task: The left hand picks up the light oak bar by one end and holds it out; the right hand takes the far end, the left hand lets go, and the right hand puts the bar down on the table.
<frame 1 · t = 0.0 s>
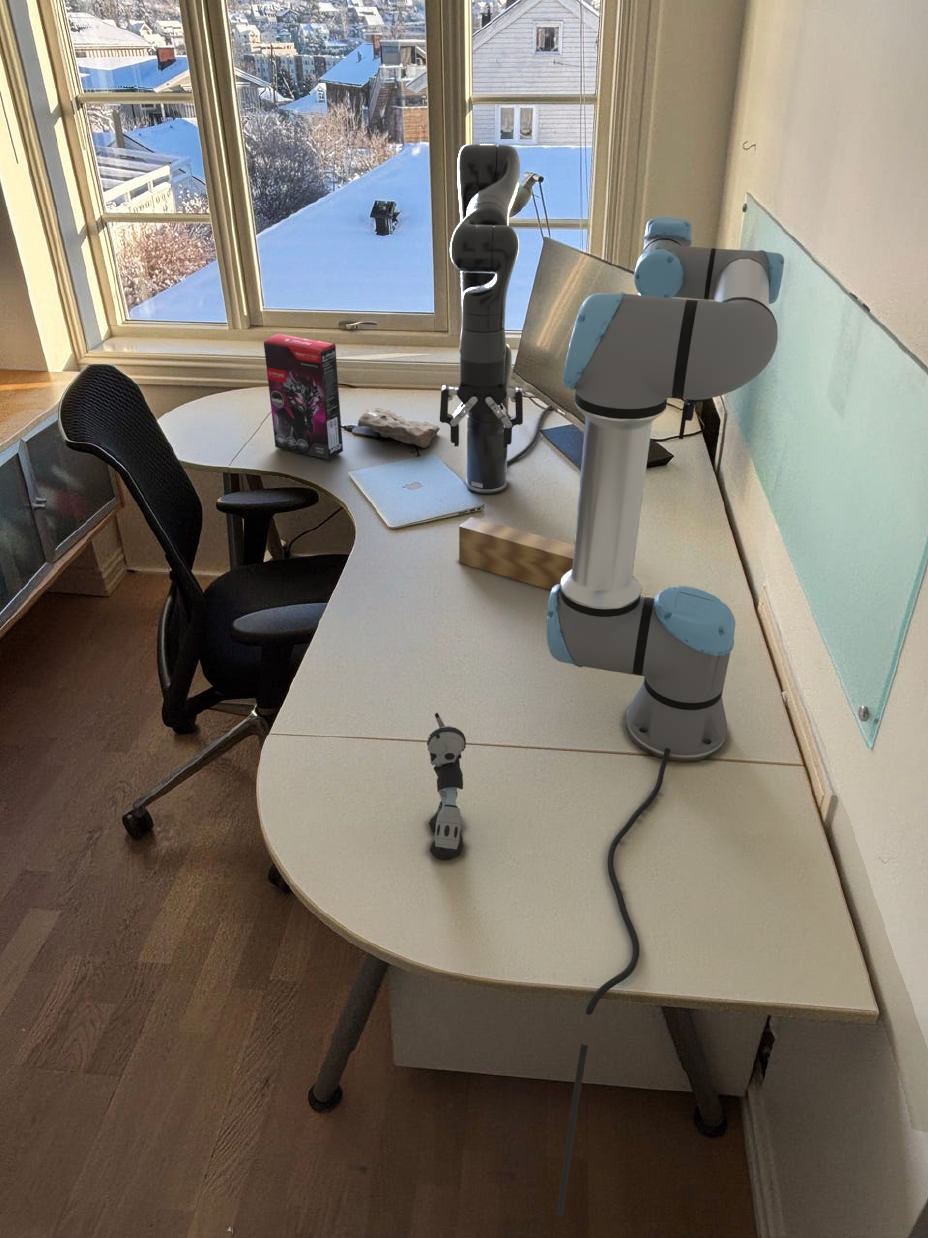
left hand: (480, 445, 161), 29 cm above the table, tool pointing down, fingers open, 8 cm apart
right hand: (643, 432, 170), 28 cm above the table, tool pointing down, fingers open, 13 cm apart
graphics card box: (309, 450, 231), on the table
stone: (395, 437, 238), on the table
bar: (519, 573, 182), on the table
robot: (446, 837, 124), on the table
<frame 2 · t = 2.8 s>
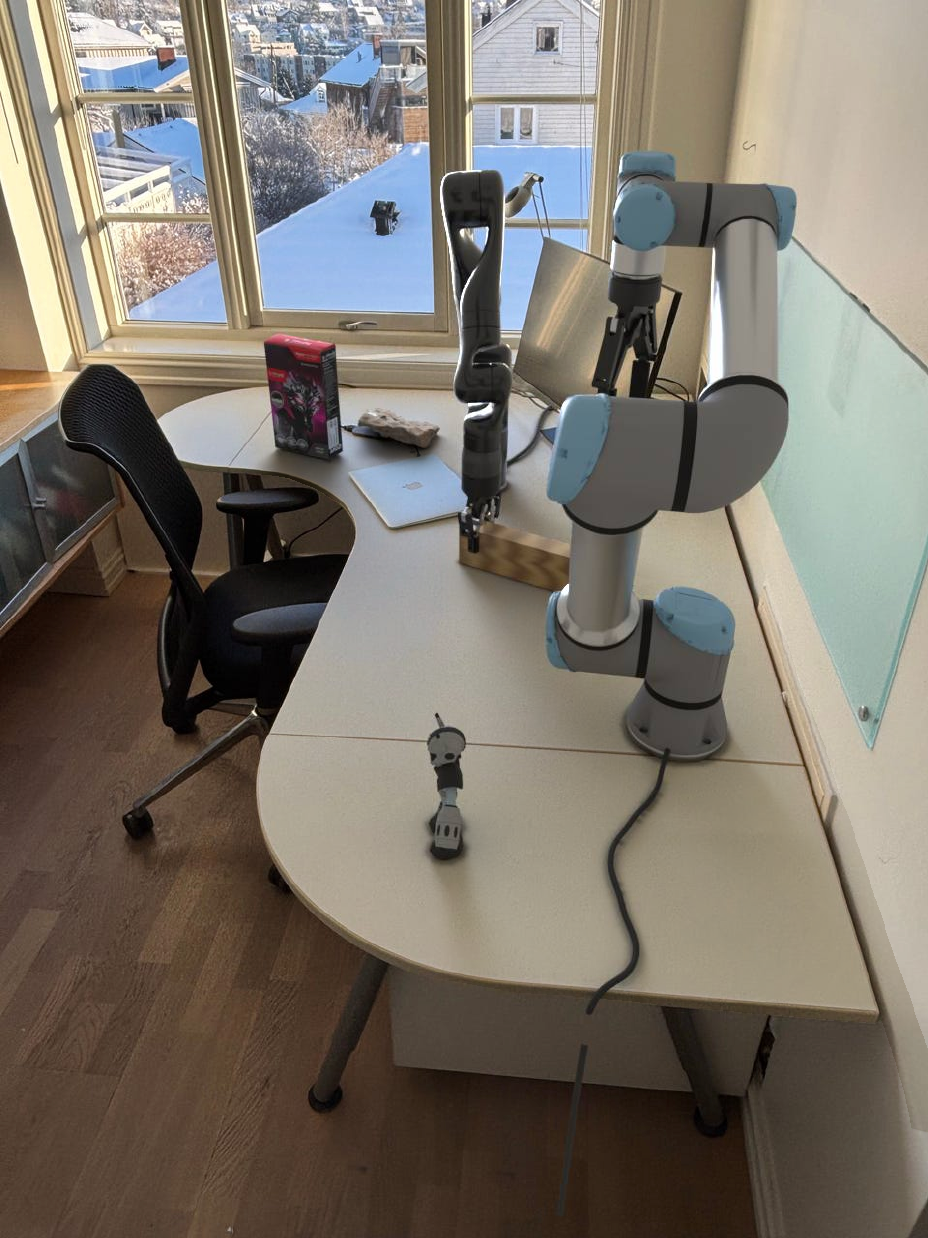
left hand: (479, 546, 184), 4 cm above the table, tool pointing down, fingers closed on bar, 4 cm apart
right hand: (620, 415, 143), 41 cm above the table, tool pointing down, fingers open, 13 cm apart
bar: (519, 573, 182), on the table, touching left hand
everything else where it was.
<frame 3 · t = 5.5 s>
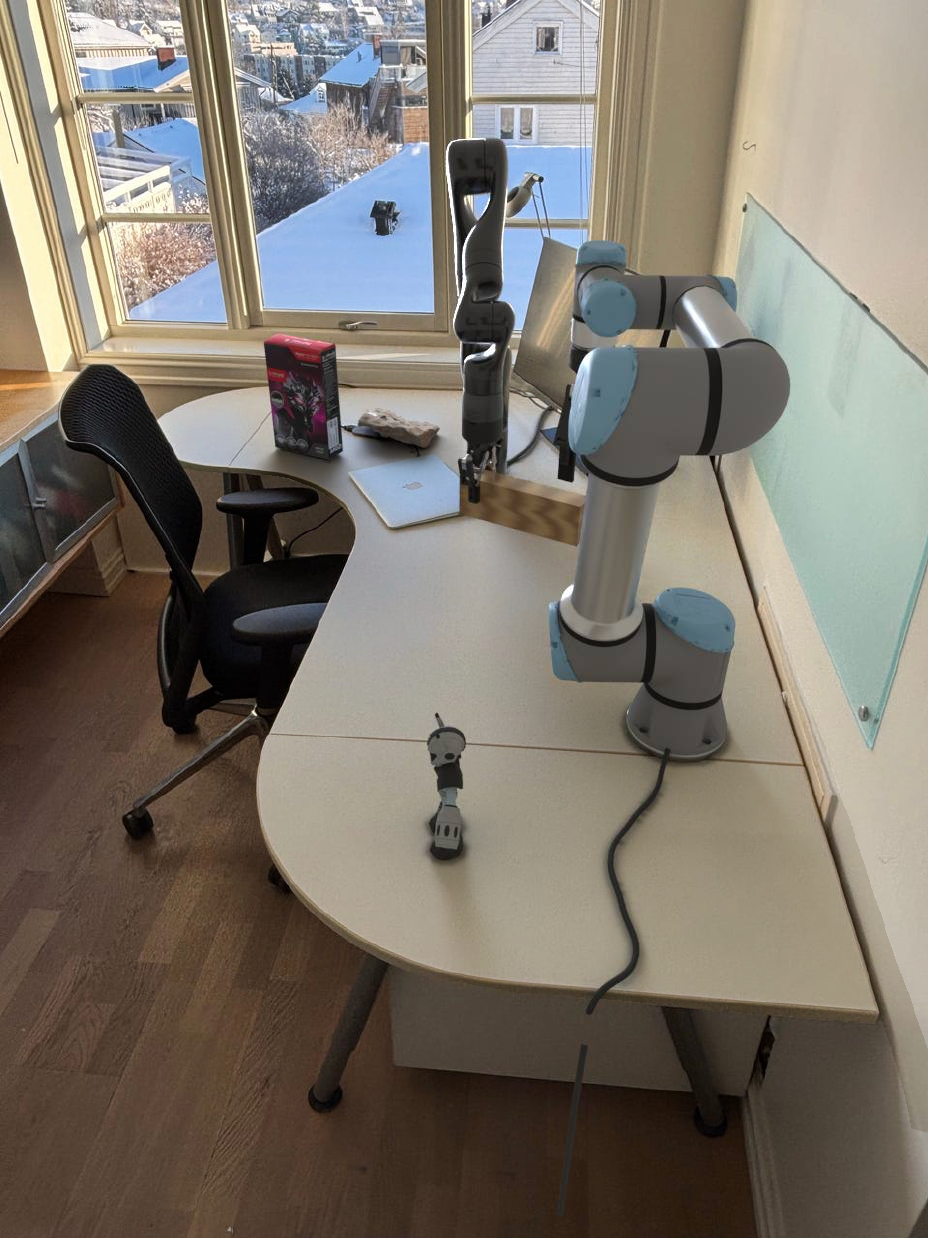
left hand: (480, 496, 178), 14 cm above the table, tool pointing down, fingers closed on bar, 4 cm apart
right hand: (582, 465, 160), 27 cm above the table, tool pointing down, fingers open, 13 cm apart
bar: (521, 524, 176), point 11 cm above the table, touching left hand
everything else where it was.
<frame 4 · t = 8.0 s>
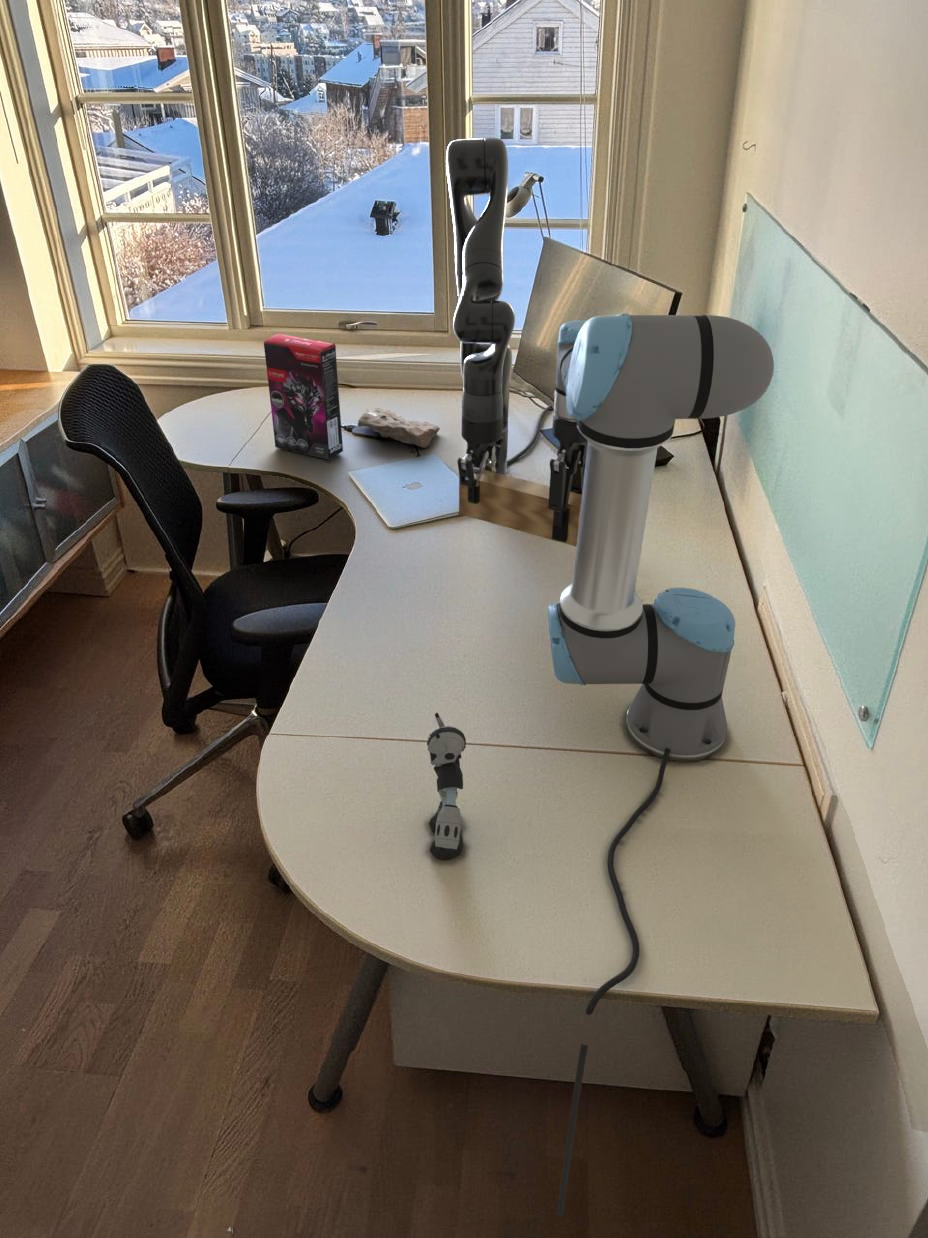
left hand: (480, 496, 178), 14 cm above the table, tool pointing down, fingers closed on bar, 4 cm apart
right hand: (565, 533, 172), 12 cm above the table, tool pointing down, fingers closed on bar, 5 cm apart
bar: (521, 524, 176), point 11 cm above the table, touching right hand, left hand
everything else where it was.
when the left hand's fingers open (14 cm above the table, at t = 8.7 s): bar stays where it is, held by the right hand.
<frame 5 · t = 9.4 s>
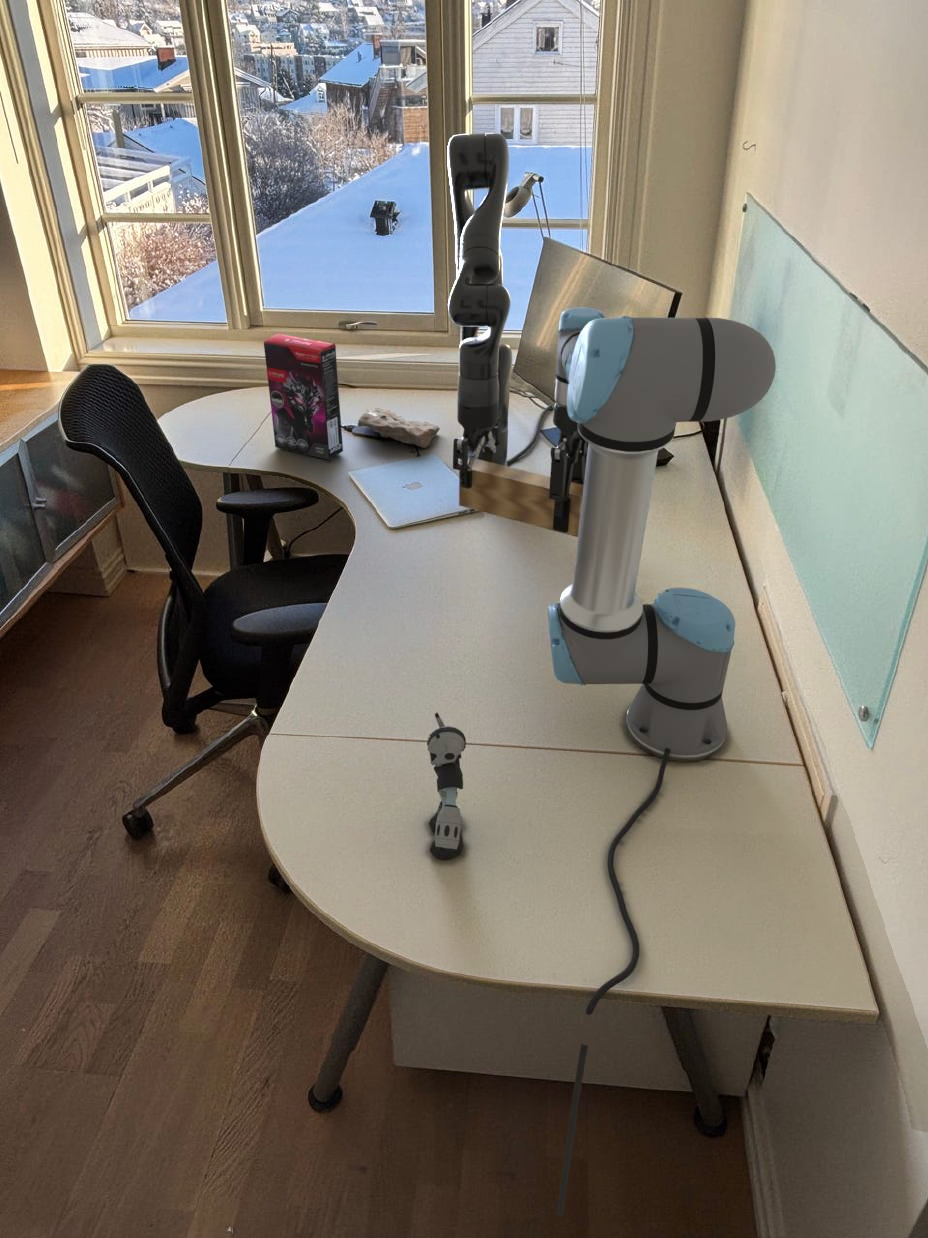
left hand: (477, 478, 176), 18 cm above the table, tool pointing down, fingers open, 8 cm apart
right hand: (566, 523, 170), 14 cm above the table, tool pointing down, fingers closed on bar, 5 cm apart
bar: (522, 516, 175), point 13 cm above the table, touching right hand
everything else where it was.
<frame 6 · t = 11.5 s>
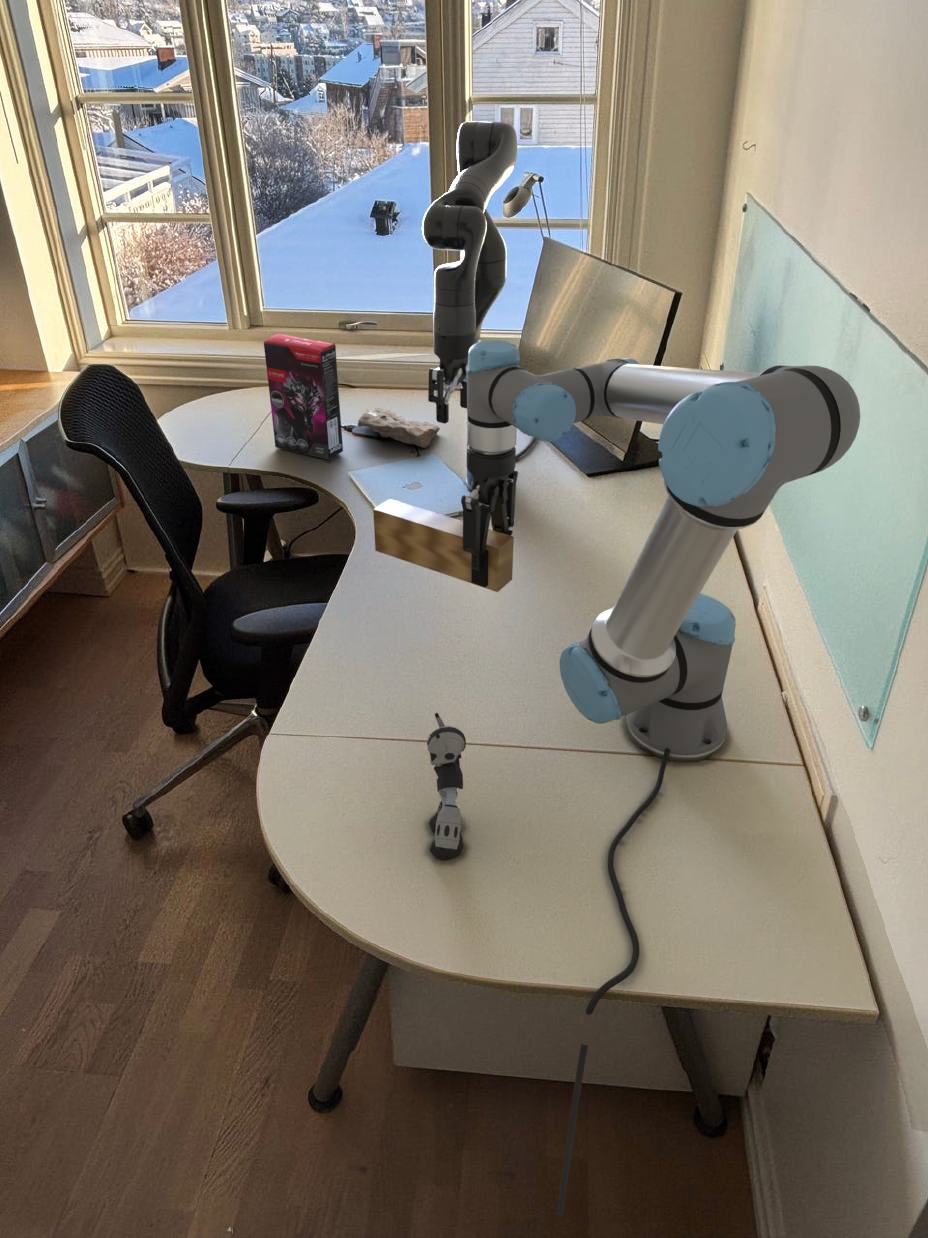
left hand: (454, 414, 172), 30 cm above the table, tool pointing down, fingers open, 8 cm apart
right hand: (488, 576, 153), 14 cm above the table, tool pointing down, fingers closed on bar, 5 cm apart
bar: (442, 564, 158), point 14 cm above the table, touching right hand
everything else where it was.
when the right hand's fingers open (2 cm above the table, at t = 15.0 s): bar drops 1 cm, on the table.
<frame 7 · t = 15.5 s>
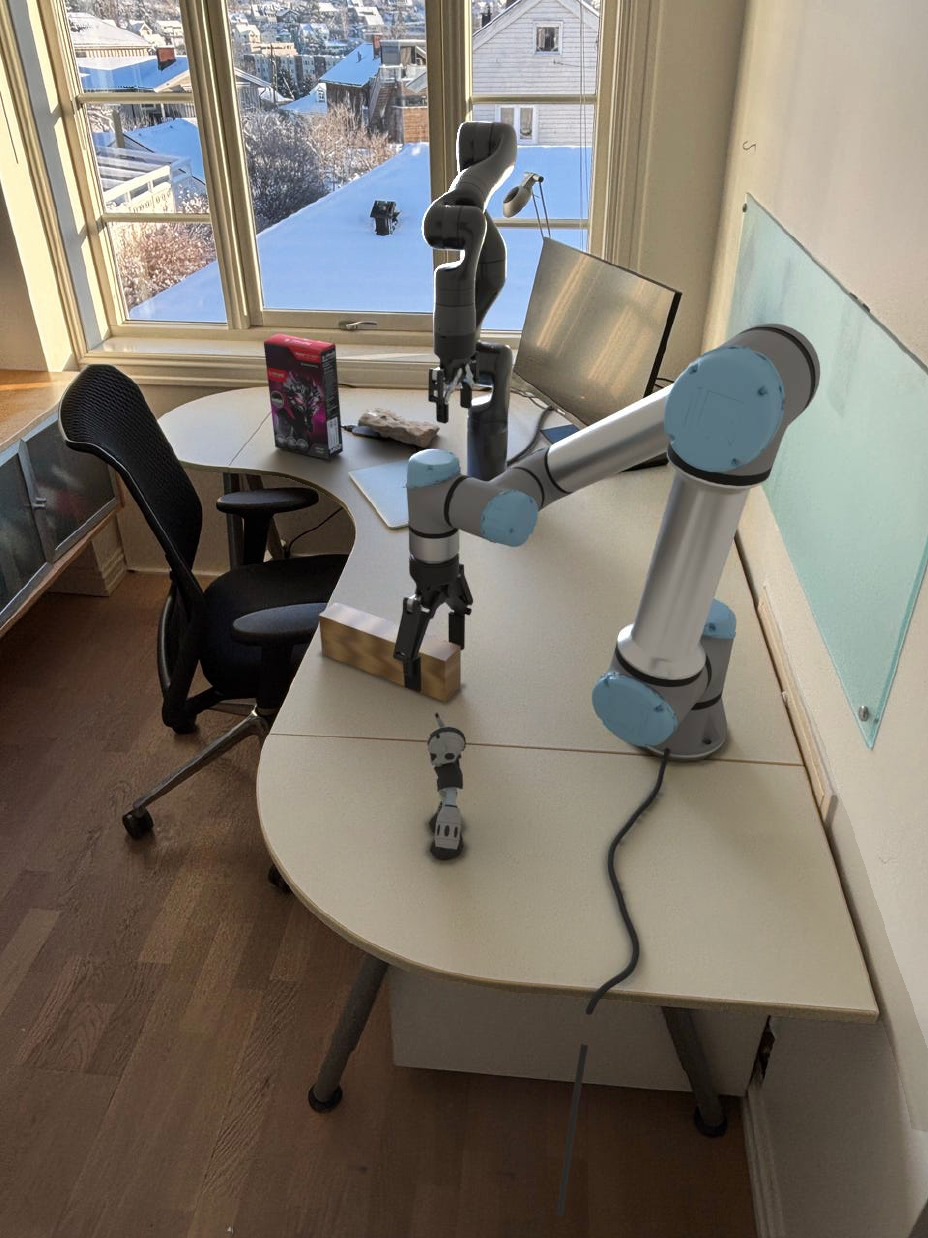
left hand: (454, 414, 172), 30 cm above the table, tool pointing down, fingers open, 8 cm apart
right hand: (435, 667, 149), 4 cm above the table, tool pointing down, fingers open, 12 cm apart
bar: (389, 670, 156), on the table
everything else where it was.
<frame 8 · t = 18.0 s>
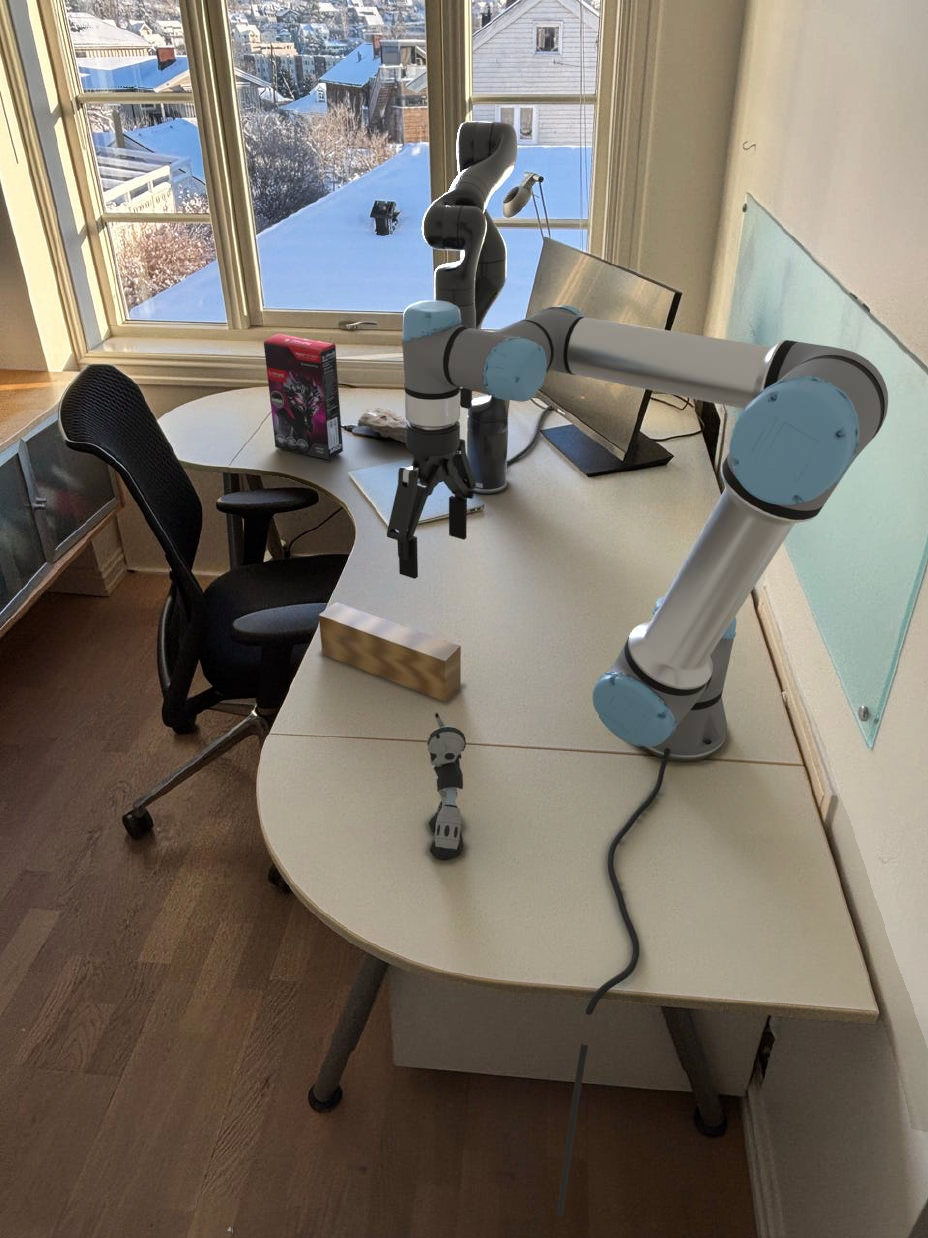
left hand: (454, 414, 172), 30 cm above the table, tool pointing down, fingers open, 8 cm apart
right hand: (434, 555, 138), 25 cm above the table, tool pointing down, fingers open, 13 cm apart
nothing on the table moved.
at the end: bar inside the target area (9.1 cm from its centre), on the table; the left hand is holding nothing; the right hand is holding nothing; bar at rest at the end (0.0 cm/s) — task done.
